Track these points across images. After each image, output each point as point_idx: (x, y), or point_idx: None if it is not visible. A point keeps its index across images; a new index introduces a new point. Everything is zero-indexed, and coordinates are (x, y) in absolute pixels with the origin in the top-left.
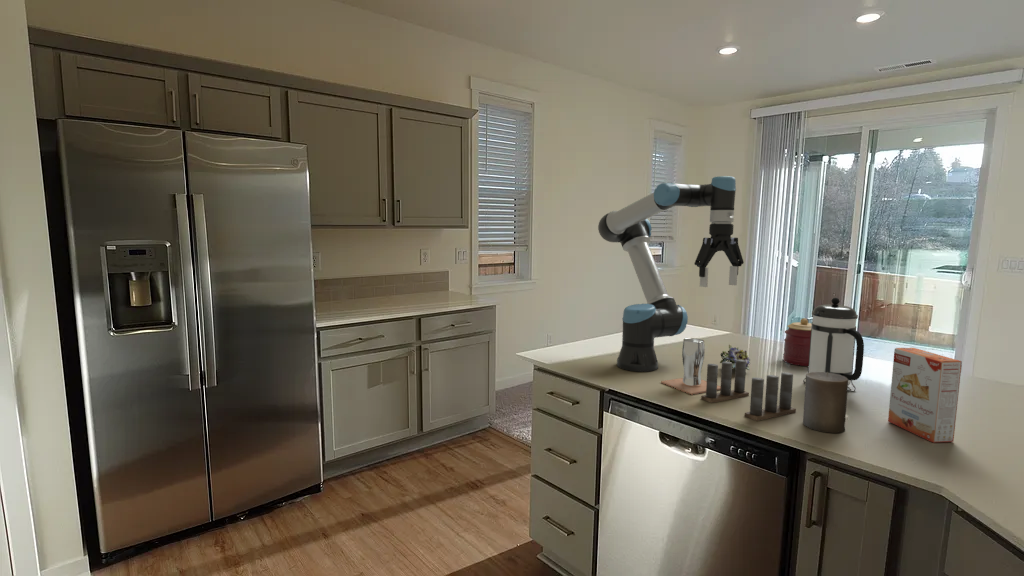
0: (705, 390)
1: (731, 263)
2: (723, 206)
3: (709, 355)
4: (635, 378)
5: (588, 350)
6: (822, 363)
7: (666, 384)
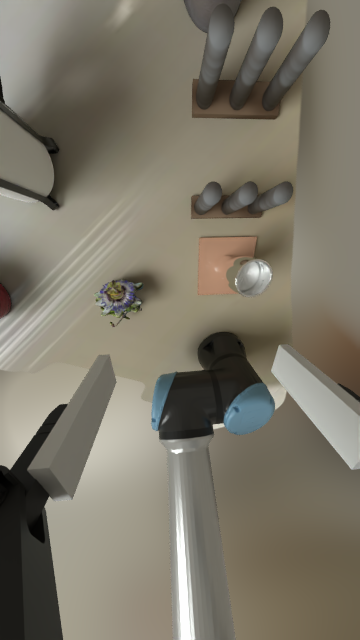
0: (232, 238)
1: (46, 532)
2: None
3: None
4: (256, 316)
5: None
6: (19, 130)
7: None
